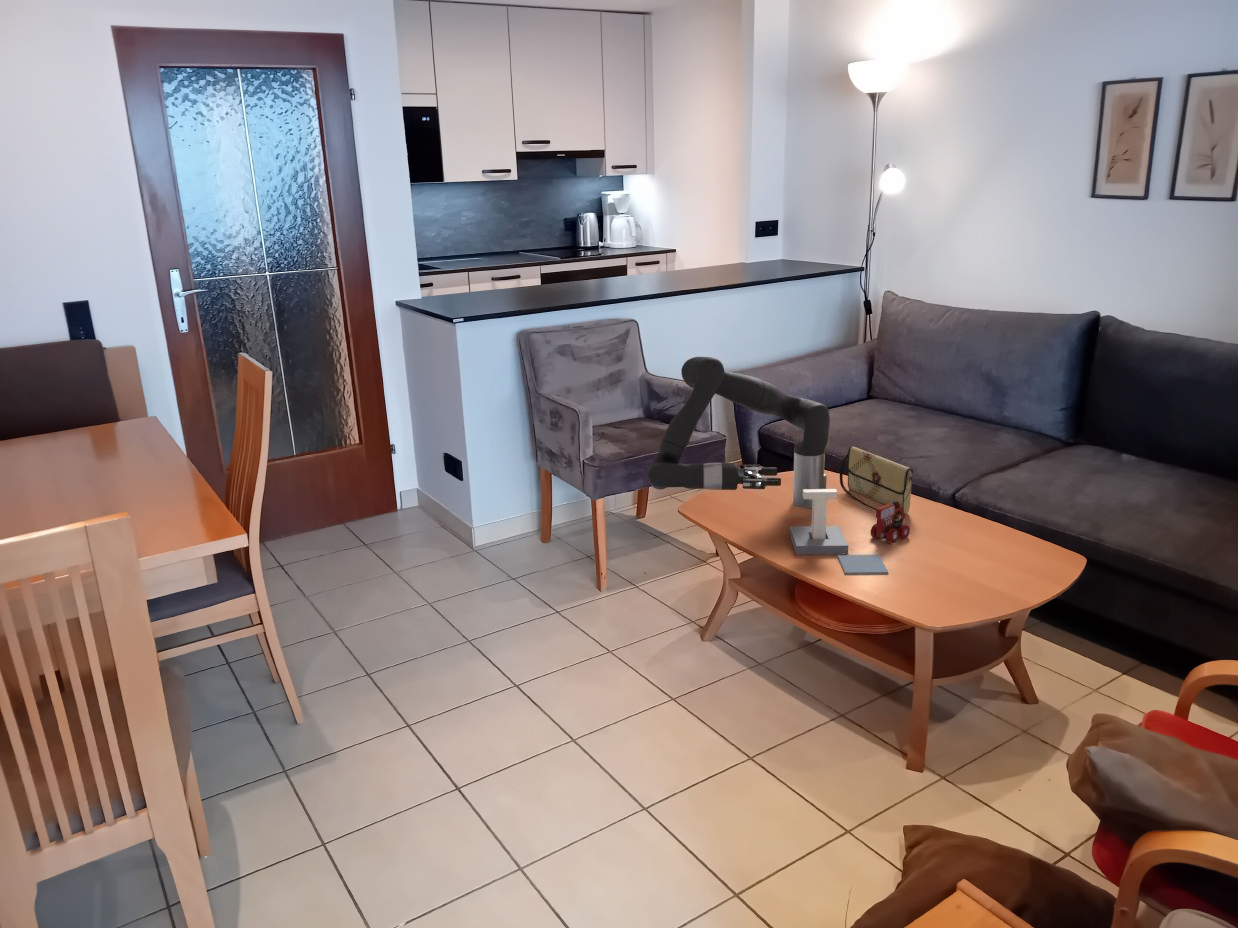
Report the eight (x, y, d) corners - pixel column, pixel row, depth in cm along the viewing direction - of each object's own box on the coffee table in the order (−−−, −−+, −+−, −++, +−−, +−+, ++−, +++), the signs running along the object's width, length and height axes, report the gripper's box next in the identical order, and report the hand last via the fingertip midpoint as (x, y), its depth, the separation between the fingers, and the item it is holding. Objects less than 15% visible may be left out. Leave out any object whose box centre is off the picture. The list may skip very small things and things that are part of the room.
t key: (802, 546, 246) (804, 493, 241) (801, 541, 249) (802, 488, 244) (835, 546, 245) (837, 492, 240) (833, 541, 249) (835, 488, 244)
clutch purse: (833, 491, 287) (835, 447, 282) (850, 487, 290) (852, 444, 285) (897, 520, 261) (900, 473, 256) (915, 516, 264) (918, 469, 259)
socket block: (796, 554, 241) (796, 546, 240) (789, 534, 254) (790, 526, 254) (848, 553, 240) (848, 545, 239) (838, 533, 253) (839, 525, 253)
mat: (845, 574, 228) (845, 572, 228) (837, 556, 239) (837, 554, 239) (888, 573, 228) (888, 571, 227) (878, 556, 238) (878, 554, 238)
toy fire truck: (913, 535, 251) (916, 501, 247) (886, 547, 244) (889, 512, 240) (892, 528, 256) (895, 494, 253) (866, 539, 249) (868, 505, 245)
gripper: (721, 471, 235) (782, 471, 234) (718, 455, 248) (776, 455, 247) (721, 497, 237) (781, 498, 236) (718, 480, 250) (775, 480, 249)
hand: (779, 476), depth 242 cm, fingers open, 8 cm apart
